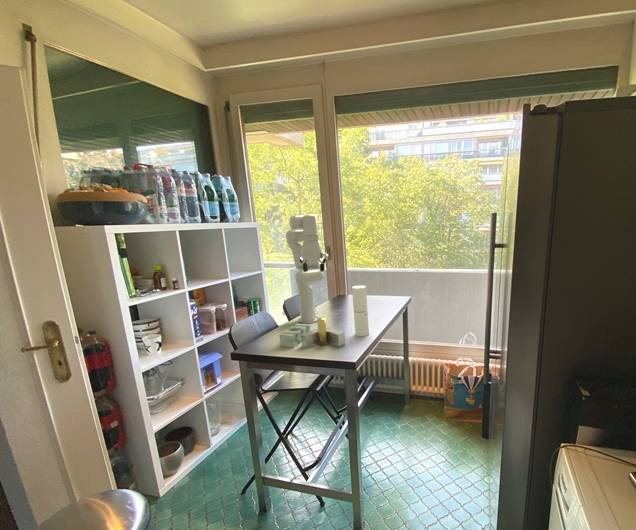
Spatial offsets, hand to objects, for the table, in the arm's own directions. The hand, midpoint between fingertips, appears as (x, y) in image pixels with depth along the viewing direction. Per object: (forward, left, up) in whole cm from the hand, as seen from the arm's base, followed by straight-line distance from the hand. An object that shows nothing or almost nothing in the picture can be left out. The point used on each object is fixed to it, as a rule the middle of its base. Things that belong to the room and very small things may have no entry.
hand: (314, 271), depth 173 cm
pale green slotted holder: (+11, -8, -34) cm, 37 cm away
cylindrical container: (-6, +22, -34) cm, 41 cm away
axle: (+13, +8, -34) cm, 37 cm away
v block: (+11, +8, -34) cm, 37 cm away
